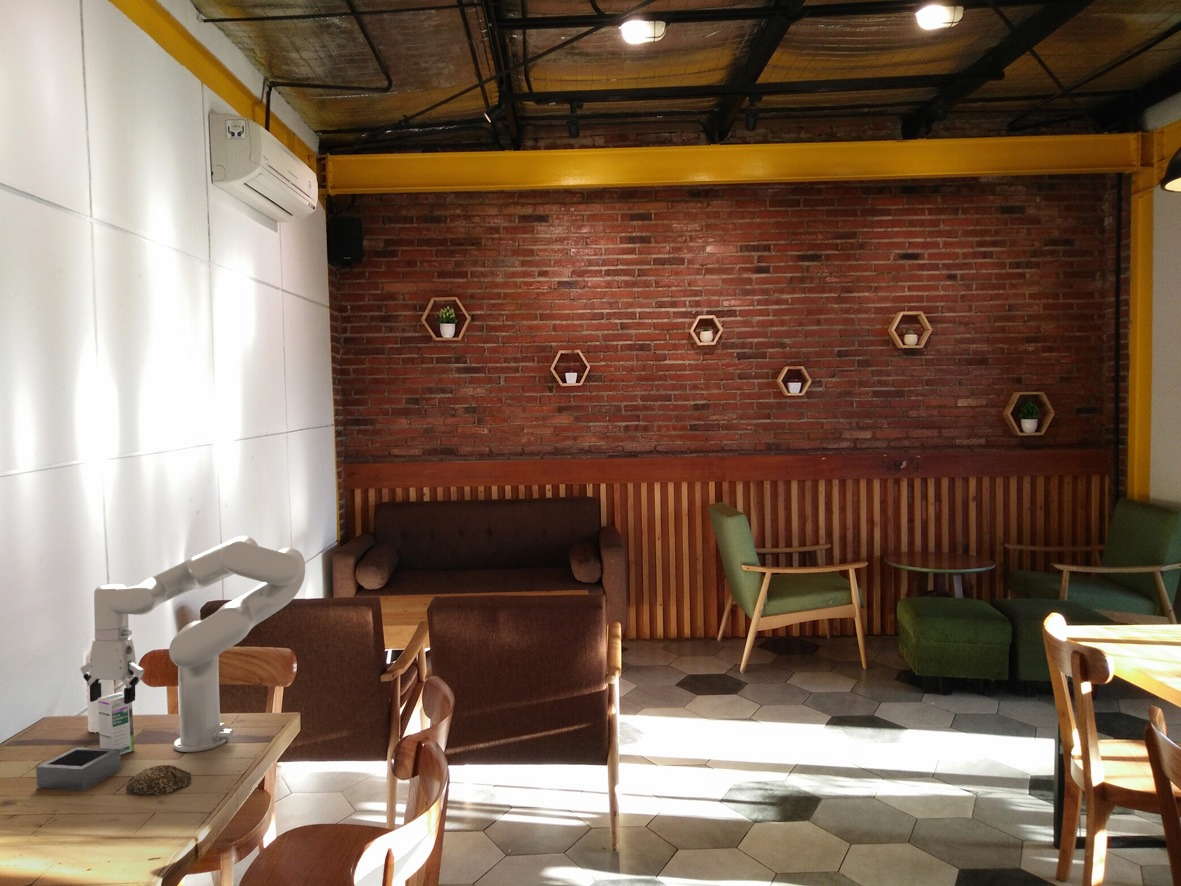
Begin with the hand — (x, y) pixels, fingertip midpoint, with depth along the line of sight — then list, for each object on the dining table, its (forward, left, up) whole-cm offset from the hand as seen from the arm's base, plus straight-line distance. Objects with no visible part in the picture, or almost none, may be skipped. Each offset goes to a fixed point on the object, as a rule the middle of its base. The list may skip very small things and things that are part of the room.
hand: (112, 701), depth 220 cm
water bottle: (+15, -14, -13) cm, 25 cm away
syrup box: (-1, 0, -13) cm, 13 cm away
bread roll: (-26, +17, -14) cm, 33 cm away
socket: (-4, +16, -13) cm, 21 cm away
